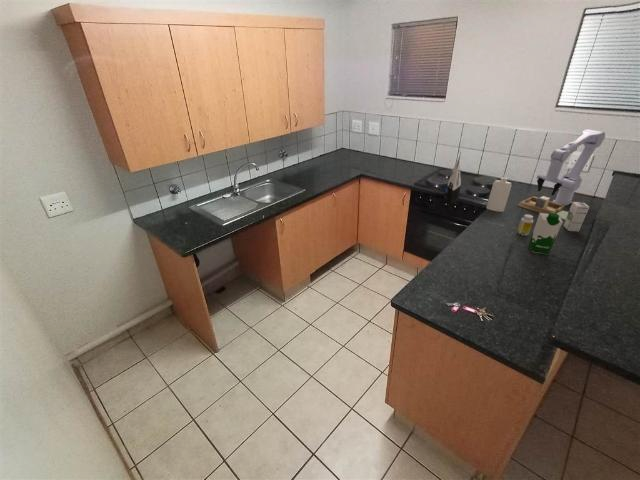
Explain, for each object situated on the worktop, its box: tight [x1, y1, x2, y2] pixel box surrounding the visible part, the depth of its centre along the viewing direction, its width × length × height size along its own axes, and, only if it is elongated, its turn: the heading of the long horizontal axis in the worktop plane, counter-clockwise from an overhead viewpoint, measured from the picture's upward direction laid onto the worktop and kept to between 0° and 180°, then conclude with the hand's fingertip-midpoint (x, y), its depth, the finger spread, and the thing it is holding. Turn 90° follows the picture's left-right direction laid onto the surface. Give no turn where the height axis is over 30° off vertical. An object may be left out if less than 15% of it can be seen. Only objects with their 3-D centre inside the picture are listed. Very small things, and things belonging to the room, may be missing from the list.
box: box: [535, 195, 551, 209], centre depth 193 cm, size 7×4×6 cm, turn 124°
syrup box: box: [562, 201, 590, 232], centre depth 168 cm, size 6×6×14 cm
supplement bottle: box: [516, 214, 534, 236], centre depth 166 cm, size 6×6×10 cm
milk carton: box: [528, 213, 564, 255], centre depth 149 cm, size 9×9×20 cm
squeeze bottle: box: [486, 176, 512, 213], centre depth 189 cm, size 10×20×5 cm
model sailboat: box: [443, 151, 462, 205], centre depth 203 cm, size 10×24×30 cm, turn 157°
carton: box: [518, 196, 565, 214], centre depth 194 cm, size 17×18×3 cm
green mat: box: [555, 209, 569, 221], centre depth 185 cm, size 12×7×1 cm, turn 124°
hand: (545, 193), depth 190 cm, fingers open, 7 cm apart
